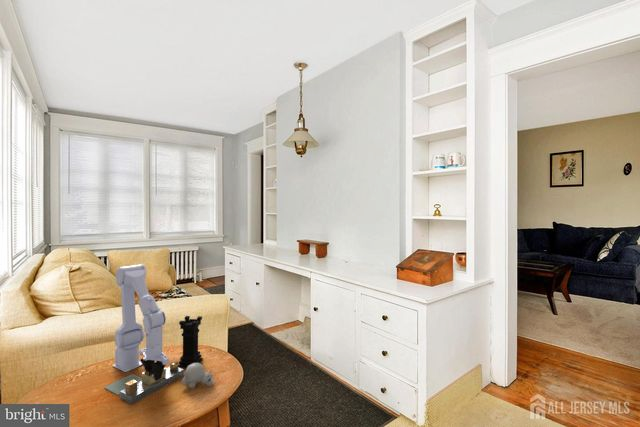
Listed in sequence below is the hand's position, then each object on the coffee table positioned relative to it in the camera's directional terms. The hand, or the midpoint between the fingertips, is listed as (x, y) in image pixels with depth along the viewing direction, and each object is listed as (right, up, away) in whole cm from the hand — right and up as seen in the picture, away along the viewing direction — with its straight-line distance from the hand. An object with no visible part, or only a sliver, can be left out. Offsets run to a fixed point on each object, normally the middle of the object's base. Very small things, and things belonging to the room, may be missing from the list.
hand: (154, 377), depth 128 cm
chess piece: (+7, -3, +18) cm, 19 cm away
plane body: (0, -4, 0) cm, 4 cm away
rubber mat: (-11, -3, +1) cm, 12 cm away
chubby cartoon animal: (+17, -4, +2) cm, 17 cm away
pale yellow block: (0, -1, 0) cm, 1 cm away
